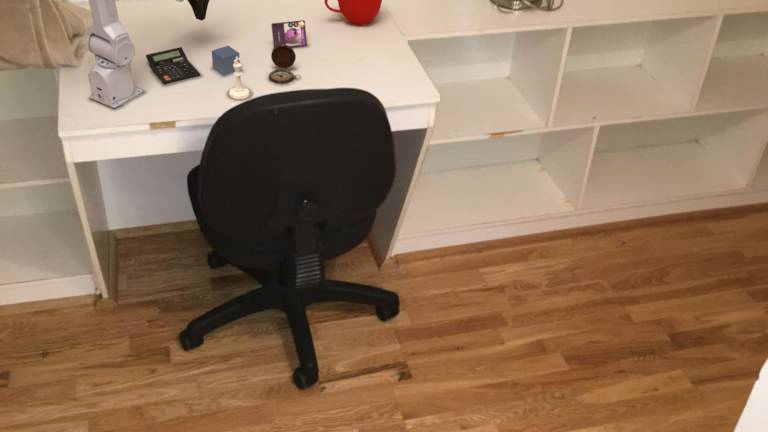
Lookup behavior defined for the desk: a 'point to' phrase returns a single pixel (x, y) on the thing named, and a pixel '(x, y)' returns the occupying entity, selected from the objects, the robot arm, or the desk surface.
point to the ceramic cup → (358, 10)
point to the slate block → (224, 59)
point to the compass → (282, 64)
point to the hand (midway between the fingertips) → (200, 18)
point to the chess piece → (238, 82)
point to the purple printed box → (288, 33)
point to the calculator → (171, 66)
